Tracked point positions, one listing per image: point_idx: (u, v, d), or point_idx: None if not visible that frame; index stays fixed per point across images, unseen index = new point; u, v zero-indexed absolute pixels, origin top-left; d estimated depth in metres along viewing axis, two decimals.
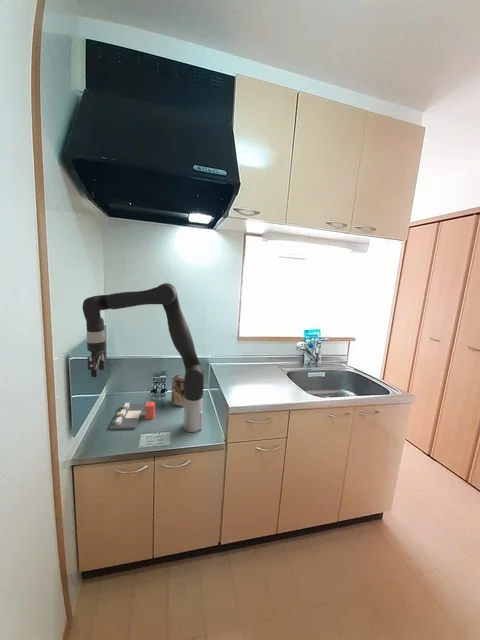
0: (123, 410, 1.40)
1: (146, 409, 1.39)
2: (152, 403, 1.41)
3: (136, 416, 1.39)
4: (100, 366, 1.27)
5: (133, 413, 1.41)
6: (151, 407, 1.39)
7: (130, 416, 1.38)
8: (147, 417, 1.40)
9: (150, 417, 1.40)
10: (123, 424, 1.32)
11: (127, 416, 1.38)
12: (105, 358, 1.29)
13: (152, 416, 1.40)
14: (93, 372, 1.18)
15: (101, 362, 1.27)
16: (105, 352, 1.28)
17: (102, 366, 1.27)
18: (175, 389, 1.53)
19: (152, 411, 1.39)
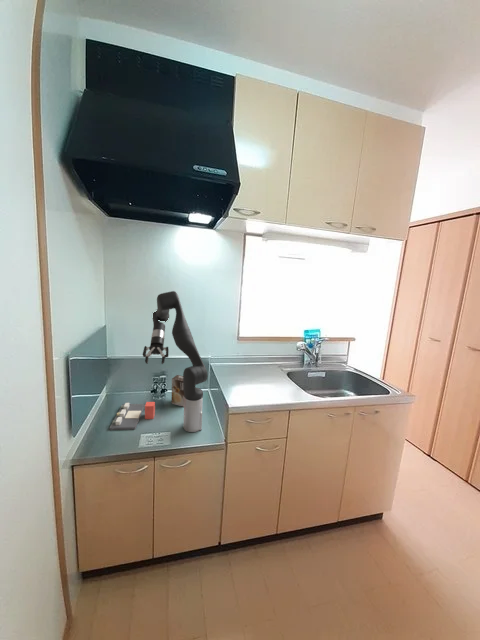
0: (123, 410, 1.40)
1: (146, 409, 1.39)
2: (152, 403, 1.41)
3: (136, 416, 1.39)
4: (162, 361, 1.53)
5: (133, 413, 1.41)
6: (151, 407, 1.39)
7: (130, 416, 1.38)
8: (147, 417, 1.40)
9: (150, 417, 1.40)
10: (123, 424, 1.32)
11: (127, 416, 1.38)
12: (166, 354, 1.54)
13: (152, 416, 1.40)
14: None
15: None
16: (167, 350, 1.55)
17: None
18: (175, 389, 1.53)
19: (152, 411, 1.39)
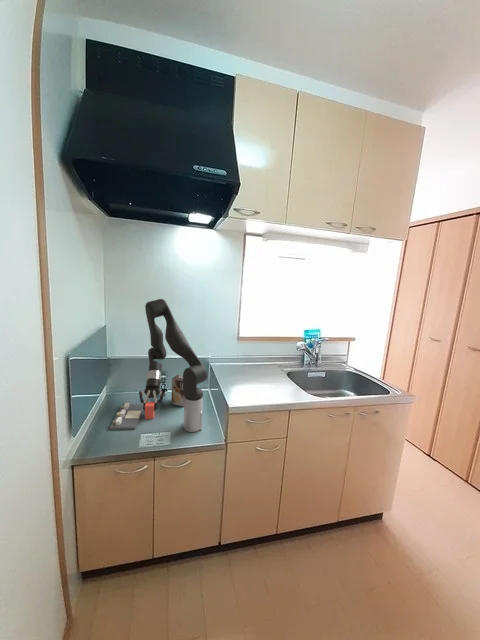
0: (123, 410, 1.40)
1: (146, 409, 1.39)
2: (152, 403, 1.41)
3: (136, 416, 1.39)
4: (154, 407, 1.42)
5: (133, 413, 1.41)
6: (151, 407, 1.39)
7: (130, 416, 1.38)
8: (147, 417, 1.40)
9: (150, 417, 1.40)
10: (123, 424, 1.32)
11: (127, 416, 1.38)
12: (159, 400, 1.43)
13: (152, 416, 1.40)
14: None
15: None
16: (162, 395, 1.44)
17: (154, 407, 1.41)
18: (175, 389, 1.53)
19: (152, 411, 1.39)
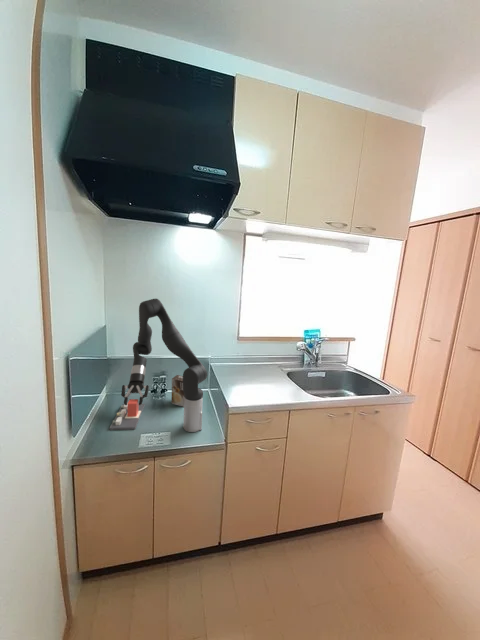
0: (123, 410, 1.40)
1: (129, 406, 1.37)
2: (135, 400, 1.40)
3: (136, 416, 1.39)
4: None
5: None
6: (134, 404, 1.37)
7: None
8: (130, 414, 1.38)
9: (133, 414, 1.38)
10: (123, 424, 1.32)
11: (127, 416, 1.38)
12: (144, 394, 1.41)
13: (135, 413, 1.38)
14: None
15: None
16: (147, 389, 1.43)
17: None
18: (175, 389, 1.53)
19: (135, 408, 1.38)
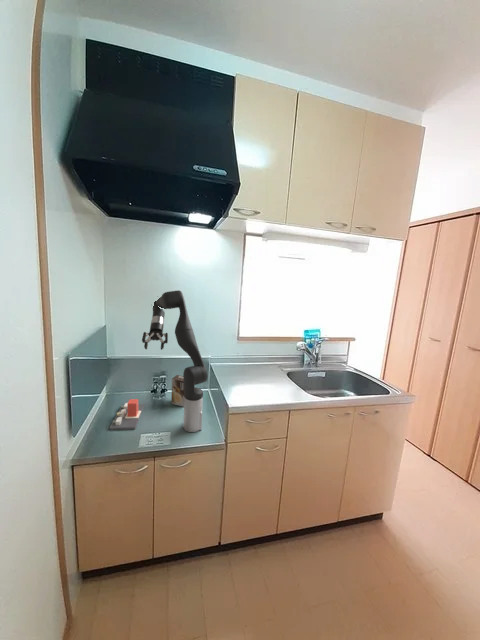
0: (123, 410, 1.40)
1: (129, 406, 1.37)
2: (135, 400, 1.40)
3: (136, 416, 1.39)
4: (161, 346, 1.53)
5: None
6: (134, 404, 1.37)
7: None
8: (130, 414, 1.38)
9: (133, 414, 1.38)
10: (123, 424, 1.32)
11: (127, 416, 1.38)
12: (165, 340, 1.54)
13: (135, 413, 1.38)
14: None
15: None
16: (167, 336, 1.55)
17: (161, 346, 1.52)
18: (175, 389, 1.53)
19: (135, 408, 1.38)
